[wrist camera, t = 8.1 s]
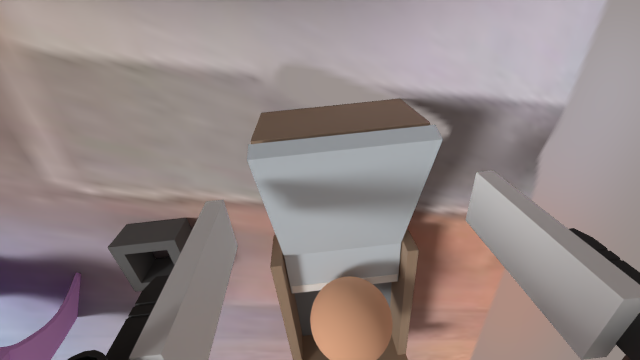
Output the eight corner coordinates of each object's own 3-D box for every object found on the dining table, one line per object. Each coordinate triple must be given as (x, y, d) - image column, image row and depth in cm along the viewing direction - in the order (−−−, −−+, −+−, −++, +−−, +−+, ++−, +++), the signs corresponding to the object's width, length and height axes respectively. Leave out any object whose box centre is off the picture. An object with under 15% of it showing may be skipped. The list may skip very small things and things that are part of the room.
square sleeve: (126, 224, 22) (107, 247, 20) (186, 217, 22) (174, 240, 20) (149, 266, 24) (135, 291, 22) (203, 260, 24) (194, 284, 22)
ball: (314, 394, 18) (304, 296, 18) (314, 344, 24) (307, 272, 24) (409, 383, 18) (397, 286, 18) (385, 336, 24) (377, 264, 24)
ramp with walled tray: (247, 113, 18) (225, 154, 13) (413, 95, 18) (463, 129, 13) (296, 338, 31) (296, 408, 25) (394, 326, 31) (415, 393, 25)
